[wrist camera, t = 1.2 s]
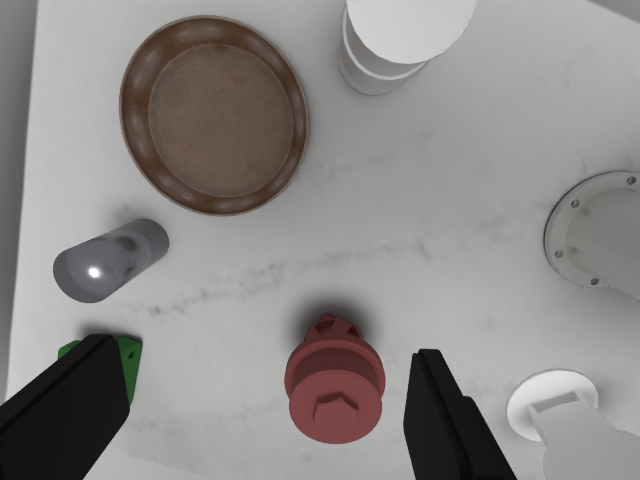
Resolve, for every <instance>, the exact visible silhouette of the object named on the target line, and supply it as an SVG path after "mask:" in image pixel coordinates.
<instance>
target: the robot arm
mask: <svg viewBox="0 0 640 480" xmlns="http://www.w3.org/2000/svg"><path fill="white" fill-rule="evenodd" d="M545 251H546V255H547V258H548V260H549V262H550V264H551V266H552V267H553V268H554V269H555V271H556V272H557V273H558V274H560V275H561V276H562V277H564V278H565V279H567V280H569V281H571V282H573V283H574V284H577V285H580V286H583V287H589V288H606V287H611V286H612V287H614V288H616V289H617V290H619V291H621V292H623V293H625V294H627V295H629V296H631V297H633V298H635V299H637V300H639V301H640V173H634V172H624V171H623V172H610V173H606V174H602V175H598V176H596V177H593V178H591V179H588V180H586V181H585V182H583V183H582V184H580V185H578V186H577V187H575V188H574V189H573V190H572V191H571V192H569V193H568V194H567V195H566V196H565V197H564V198H563V199H562V200H561V202H560V203H559V204H558V205H557V207H556V208H555V210H554V212H553V213H552V215H551V217H550V220H549V222H548V224H547V228H546V233H545ZM129 412H130V405H129V399H128V393H127V388H126V382H125V376H124V371H123V365H122V359H121V354H120V348H119V343H118V341H117V340H115V339H114V337H113V336H112V335H109V334H90V335H88V336H87V337H85V338H84V339H83V340H82V341H81V342H79V343H78V344H77V345H76V346H74V347H73V348H72V349H71V350H69V351H68V352H67V353H66V354H64V355H63V356H62V357H61V358H60V359H58V360H57V361H56V362H55V363H53V364H52V365H51V366H50V367H48V368H47V369H46V370H45V371H43V372H42V373H41V374H40V375H38V376H37V377H36V378H35V379H34V380H32V381H31V382H30V383H29V384H27V385H26V386H25V387H24V388H22V389H21V390H20V391H19V392H17V393H16V394H15V395H14V396H13V397H11V398H10V399H9V400H8V401H6V402H5V403H4V404H3V405H1V406H0V480H83V479H84V477H85V476H86V474H87V473H88V472H89V470H90V469H91V468H92V466H93V465H94V463H95V462H96V461H97V459H98V458H99V457H100V455H101V454H102V452H103V451H104V450H105V448H106V447H107V446H108V444H109V443H110V442H111V440H112V439H113V437H114V436H115V435H116V433H117V432H118V431H119V429H120V428H121V426H122V425H123V424H124V422H125V421H126V419H127V417H128V415H129ZM403 426H404V434H405V438H406V442H407V446H408V450H409V454H410V458H411V462H412V466H413V470H414V474H415V478H416V480H517V478H516V476H515V475H514V473H513V471H512V469H511V467H510V465H509V464H508V462H507V460H506V458H505V456H504V454H503V453H502V451H501V449H500V447H499V445H498V444H497V442H496V440H495V438H494V436H493V434H492V433H491V431H490V429H489V427H488V425H487V424H486V422H485V420H484V418H483V416H482V414H481V413H480V411H479V409H478V407H477V405H476V403H475V402H474V400H473V399H472V398H471V397H469V396H463V395H462V393H461V391H460V389H459V387H458V385H457V383H456V381H455V379H454V377H453V375H452V373H451V371H450V369H449V368H448V366H447V364H446V362H445V360H444V358H443V356H442V354H441V352H440V351H439V350H438V349H419V351H418V353H414V354H413V355H412V362H411V369H410V376H409V384H408V391H407V399H406V406H405V413H404V421H403Z"/></svg>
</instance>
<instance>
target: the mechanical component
mask: <svg viewBox="0 0 640 480" xmlns="http://www.w3.org/2000/svg"><path fill="white" fill-rule="evenodd" d="M284 383H285V389H286V393H287V395H288V397H289V399H290V401H289V411H290V415H291V418H292V420H293V422H294V424H295V425H296V427H297V428H298V429H299V430H300V431H301V432H302V433H303V434H305V435H306V436H308V437H310V438H312V439H314V440H316V441H319V442H323V443H328V444H344V443H349V442H353V441H356V440H358V439H360V438H362V437H364V436H365V435H367V434H368V433H369V432H371V431H372V430H373V429H374V427H375V426H376V425H377V423H378V421H379V419H380V416H381V412H382V401H381V398H382V395H383V393H384V389H385V373H384V369H383V365H382V362H381V359H380V357H379V356H378V354H377V352H376V351H375V350H374V349H373V348H372V347H371V346H370V345H369V344H368V343H367V342H365V341H363V337H362V335H361V333H360V331H359V330H358V329H357V328H356V327H355V326H354V325H353V324H352V323H350V322H348V321H346V320H342V319H337V318H333V316H332V315H330V314H324V315H322V316H321V318H320V321H319V322H317V323H316V324H314V325H313V326H312V327H311V328H310V329H309V330H308V332H307V334H306V336H305V339H304V342H302V343H301V344H300V345H299V346H298V347H297V348H296V349H295V350H294V351H293V352H292V354H291V356H290V358H289V360H288V363H287V366H286V372H285V379H284Z"/></svg>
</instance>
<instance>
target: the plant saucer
mask: <svg viewBox="0 0 640 480" xmlns="http://www.w3.org/2000/svg"><path fill="white" fill-rule="evenodd" d="M119 116H120V124H121V129H122V134H123V138H124V141H125V144H126V147H127V149H128V151H129V154H130V156H131V158H132V160H133V162H134V163H135V165H136V166H137V168H138V169H139V171H140V172H141V174H142V175H143V176H144V178H145V179H146V180H147V181H148V182H149V183H150V184H151V185H152V186H153V187H154V188H155V189H156V190H157V191H158V192H159V193H160V194H162V195H163V196H164V197H166V198H167V199H168V200H170V201H171V202H173V203H175V204H177V205H178V206H180V207H182V208H184V209H187V210H190V211H192V212H196V213H199V214H204V215H209V216H220V217H221V216H235V215H240V214H244V213H248V212H251V211H253V210H256V209H258V208H260V207H262V206H264V205H266V204H267V203H269V202H270V201H272V200H273V199H274V198H276V197H277V196H278V195H279V194H280V193H281V192H282V191H283V190H284V189H285V188H286V187H287V186H288V184H289V183H290V182H291V181H292V179H293V178H294V176H295V174H296V173H297V171H298V169H299V167H300V165H301V162H302V160H303V157H304V154H305V150H306V146H307V140H308V131H309V119H308V110H307V104H306V99H305V96H304V92H303V89H302V86H301V84H300V81H299V79H298V77H297V75H296V73H295V71H294V69H293V68H292V66H291V64H290V63H289V61H288V60H287V59H286V57H285V56H284V55H283V53H282V52H281V51H280V50H279V49H278V48H277V47H276V46H275V45H274V44H273V43H272V42H271V41H270V40H269V39H268V38H266V37H265V36H264V35H263V34H261V33H260V32H258V31H257V30H255V29H253V28H252V27H250V26H248V25H246V24H244V23H241V22H239V21H236V20H233V19H230V18H226V17H221V16H213V15H199V16H190V17H185V18H181V19H178V20H175V21H172V22H170V23H168V24H166V25H164V26H162V27H161V28H159V29H157V30H156V31H155V32H153V33H152V34H151V35H150V36H149V37H148V38H147V39H146V40H145V41H144V42H143V43H142V44H141V45H140V46H139V48H138V49H137V50H136V51H135V53H134V54H133V56H132V58H131V60H130V61H129V64H128V66H127V68H126V71H125V73H124V76H123V80H122V84H121V88H120V95H119Z"/></svg>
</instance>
